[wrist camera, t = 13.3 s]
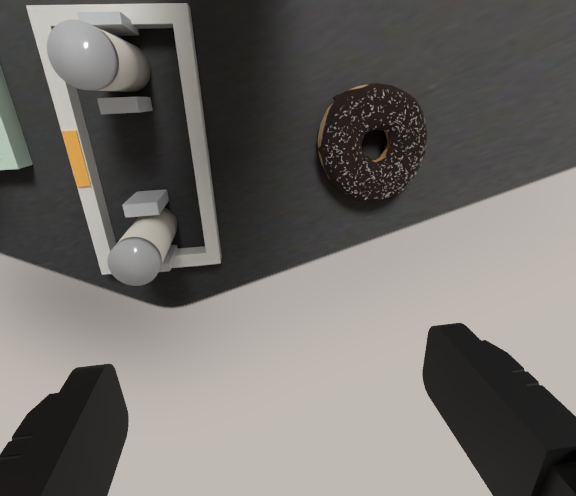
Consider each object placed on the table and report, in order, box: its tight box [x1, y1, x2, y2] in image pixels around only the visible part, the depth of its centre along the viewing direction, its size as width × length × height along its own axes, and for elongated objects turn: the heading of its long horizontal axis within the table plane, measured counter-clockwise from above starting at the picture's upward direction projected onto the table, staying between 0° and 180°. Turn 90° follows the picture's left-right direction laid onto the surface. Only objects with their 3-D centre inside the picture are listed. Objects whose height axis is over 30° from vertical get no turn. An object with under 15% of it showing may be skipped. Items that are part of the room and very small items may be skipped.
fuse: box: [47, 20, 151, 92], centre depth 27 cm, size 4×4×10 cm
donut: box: [318, 84, 427, 202], centre depth 36 cm, size 11×12×4 cm
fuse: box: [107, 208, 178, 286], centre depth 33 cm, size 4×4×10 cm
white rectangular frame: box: [26, 3, 222, 275], centre depth 32 cm, size 24×12×5 cm, turn 2°
